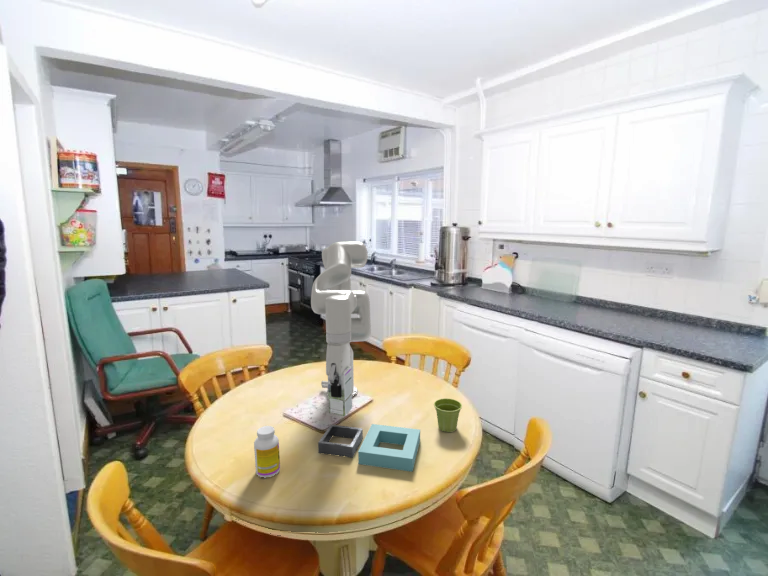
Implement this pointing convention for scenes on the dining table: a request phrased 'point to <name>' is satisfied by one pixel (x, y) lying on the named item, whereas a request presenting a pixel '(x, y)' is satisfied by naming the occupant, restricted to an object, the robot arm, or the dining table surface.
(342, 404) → the syrup box
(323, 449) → the box stand
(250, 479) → the dining table surface
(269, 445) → the supplement bottle
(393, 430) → the socket block
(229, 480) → the dining table surface
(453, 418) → the plant pot
